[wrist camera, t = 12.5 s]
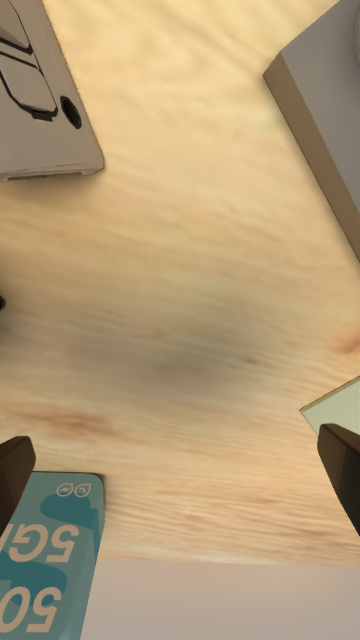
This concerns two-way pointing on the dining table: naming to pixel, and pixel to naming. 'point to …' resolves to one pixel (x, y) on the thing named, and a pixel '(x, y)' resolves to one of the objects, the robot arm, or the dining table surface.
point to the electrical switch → (39, 101)
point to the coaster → (337, 408)
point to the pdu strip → (326, 106)
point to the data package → (50, 557)
